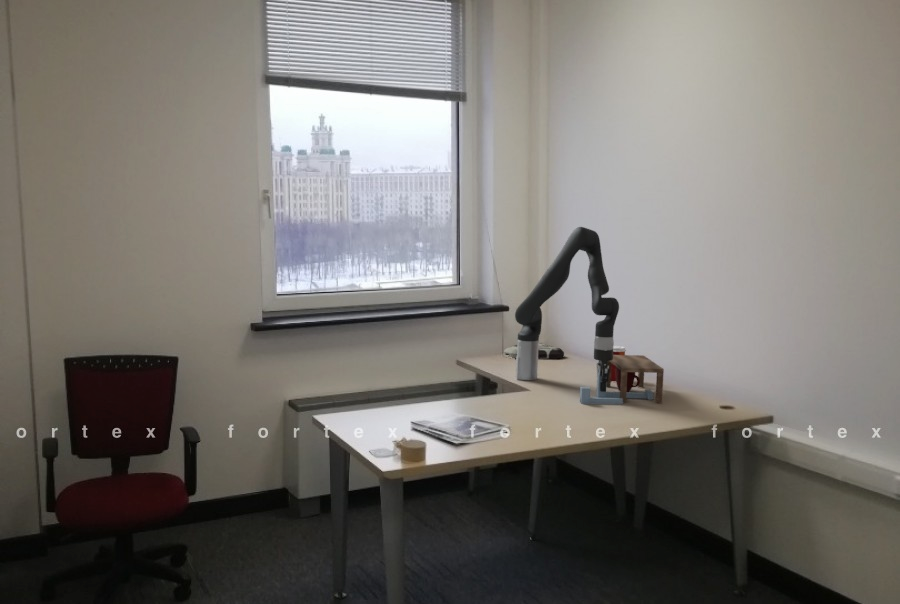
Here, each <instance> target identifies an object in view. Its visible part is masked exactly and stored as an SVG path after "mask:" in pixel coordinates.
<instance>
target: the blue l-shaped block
mask: <svg viewBox="0 0 900 604" xmlns="http://www.w3.org/2000/svg"><path fill="white" fill-rule="evenodd" d="M579 388H580V391H579V392H580V393H579V403H580V404H581V405H583V404H584V405H591V404H592V405H593V404H594V405H595V404H597V405H623V404H624V402H623V399H622V398H598V397H597V396H596V397H592V396H591V388H590V387H589V386H580V387H579Z"/></svg>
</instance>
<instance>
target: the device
mask: <svg viewBox="0 0 900 604" xmlns="http://www.w3.org/2000/svg"><path fill="white" fill-rule="evenodd" d="M504 355H509V356H508V357H512V358H516V356H517V344H515V345H512V346H510V347H506V348H505V349H504V350H503V356H504ZM563 356H564V357H565V352H564V351H563V349H561V348H559V347H556V346H552V345H548V344H544V343H542V342H539V346H538V360H559V359H558V358H560V359H562V358H561V357H563ZM564 357H563V358H564Z"/></svg>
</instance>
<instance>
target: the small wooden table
mask: <svg viewBox="0 0 900 604" xmlns="http://www.w3.org/2000/svg"><path fill="white" fill-rule="evenodd" d="M612 364H614V365H615V366H616V367H617V368H618V369H619V370H621V383H620V391H619V392H620V398H622V399H623V403H627V398H626V391H627V372H635V373H637V376H638V377H639V379H640V384H639V385H638V386H637V388H639V387H643V388H644V384H645V379H644V378H645V373H650V374H651V373H656V382H655V383H656V384H655V399H654V401H655V403H656V404H662V403H663V389H664V387H663V386H664V373H665V372H664V371H665V369H664V368H663V367H661V366H660V365H658V363H655V362H654V360H653V361H652V360H651V359H649V358H648V357H647V356H646V355H638V354H637V355H635V354H633V355H630V354H628V355H627V354H625V355H613V360H611V361H608V365H609V369H610V371H609V377H608V382H607V388H611V387H612V386H611V385H612V384H611V383H612V381H611V365H612Z"/></svg>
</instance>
